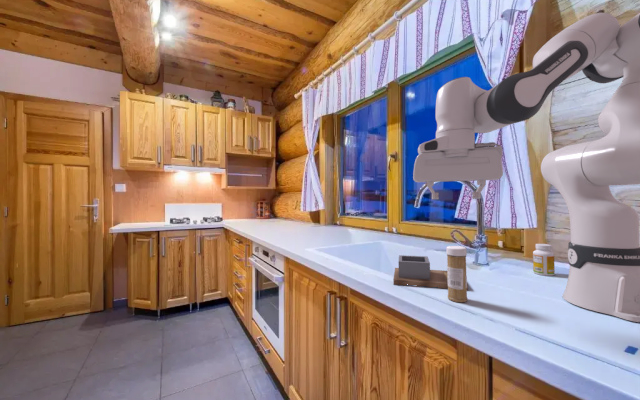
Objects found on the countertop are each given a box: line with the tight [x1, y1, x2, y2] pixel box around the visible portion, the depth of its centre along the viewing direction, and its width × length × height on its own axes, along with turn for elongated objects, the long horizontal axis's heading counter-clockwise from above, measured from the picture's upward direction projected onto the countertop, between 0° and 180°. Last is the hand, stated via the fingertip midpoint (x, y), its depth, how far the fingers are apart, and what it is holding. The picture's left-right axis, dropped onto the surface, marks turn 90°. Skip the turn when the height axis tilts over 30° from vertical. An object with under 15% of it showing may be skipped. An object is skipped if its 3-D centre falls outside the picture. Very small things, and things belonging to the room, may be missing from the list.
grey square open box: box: [398, 254, 431, 280], centre depth 85 cm, size 9×9×5 cm
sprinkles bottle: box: [446, 245, 468, 303], centre depth 68 cm, size 5×5×13 cm
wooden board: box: [393, 267, 469, 291], centre depth 84 cm, size 20×14×2 cm
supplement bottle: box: [532, 243, 555, 277], centre depth 88 cm, size 5×5×10 cm
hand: (455, 199), depth 68 cm, fingers open, 8 cm apart
